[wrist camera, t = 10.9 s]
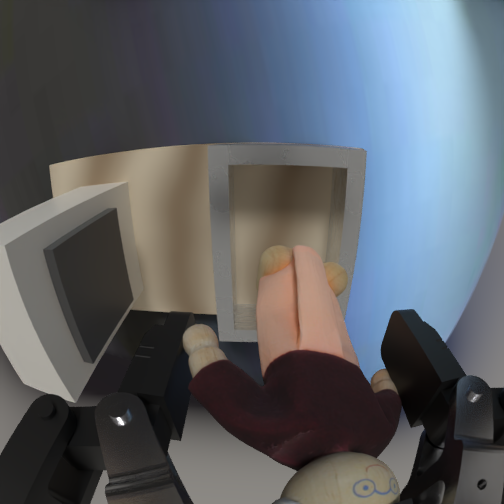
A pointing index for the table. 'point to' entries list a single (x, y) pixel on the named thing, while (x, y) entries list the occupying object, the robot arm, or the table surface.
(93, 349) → the white box with panel
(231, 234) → the slot walls
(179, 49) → the table surface
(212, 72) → the table surface
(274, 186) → the cream base plate
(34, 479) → the robot arm
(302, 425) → the grandmother figurine
